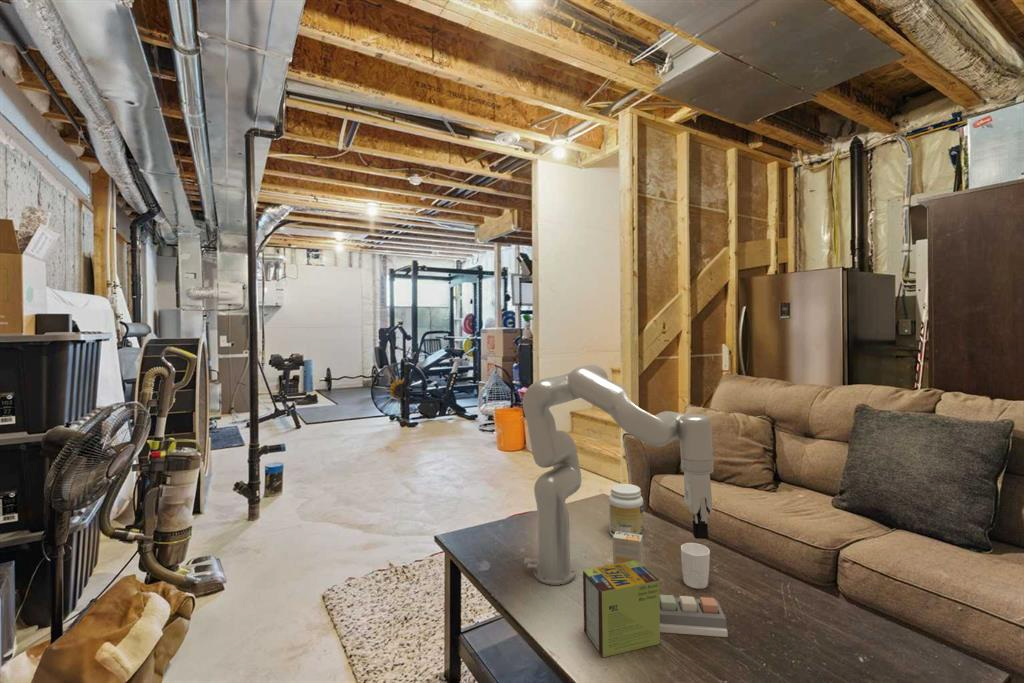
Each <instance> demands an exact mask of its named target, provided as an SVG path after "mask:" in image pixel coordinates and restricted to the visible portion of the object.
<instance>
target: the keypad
mask: <svg viewBox="0 0 1024 683" xmlns="http://www.w3.org/2000/svg"><path fill="white" fill-rule="evenodd" d="M674 599H675V602H676V611H666V610H661V606H660V633H664V634H665V633H667V634H681V635H692V636H693V635H694V636H695V635H696V636H707V637H708V636H709V637H721V638H728V631H729V630H728V629H727V617H726V616H725V613H724V612H723V610H722V607H721V605H720V604H719V601H718V600H717V599H715V601H716V603H717V605H718V614H712V613H703V612H702V609H701V607H700V598H694V599H695V601H696V604H697V612H682V610H681V607H680V597H674ZM659 602H660V596H659Z"/></svg>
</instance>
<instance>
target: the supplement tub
mask: <svg viewBox="0 0 1024 683" xmlns="http://www.w3.org/2000/svg"><path fill="white" fill-rule="evenodd" d="M610 488H611V490H610V495H609V496H608V512H609V513H608V514H609V515H608V516H609V517H608V520H609V523H608V524H609V526H608V528H609V530H608V531H609V533H610V535H611V536H612V537H613V536H614V534H615V532H616V531H619V532H626V533H632V534H639V535H643V536H644V534H645V527H644V518H645V516H644V499H643V496H642V492H641V490H642V489H641V487H639V486H638V485H636V484H631V483H616V484H613V485H612V486H611V487H610Z"/></svg>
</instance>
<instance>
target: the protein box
mask: <svg viewBox="0 0 1024 683" xmlns="http://www.w3.org/2000/svg"><path fill="white" fill-rule="evenodd" d="M582 584H583V585H582V586H583V588H582V590H583V594H582V595H583V596H582V597H583V631H584V633H585V634H586V636H587V637H588V639H589V640H590V641H591V643H592V645H593V646H594V647H595V648H596V651H598V653H599V654H600V656H601V657H602V658H607V657H610V656H616V655H619V654H624V653H627V652H631V651H636V650H641V649H644V648H648V647H652V646H656V645H657V646H658V645H660V644H661V632H660V602H659V597H660V579H658V578H657V577H656V576H655V575H654V574H653V573H652V572H651V571H649V570H648V569H647V568H646V567H645V566H644V564H643V565H641V564H640V563H639V562H638V561H637V560H633V561H629V562H624V563H618V564H613V563H612V564H609V565H608V564H607V565H603V566H598V567H597V566H596V567H591V568H587V569H583V570H582Z"/></svg>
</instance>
